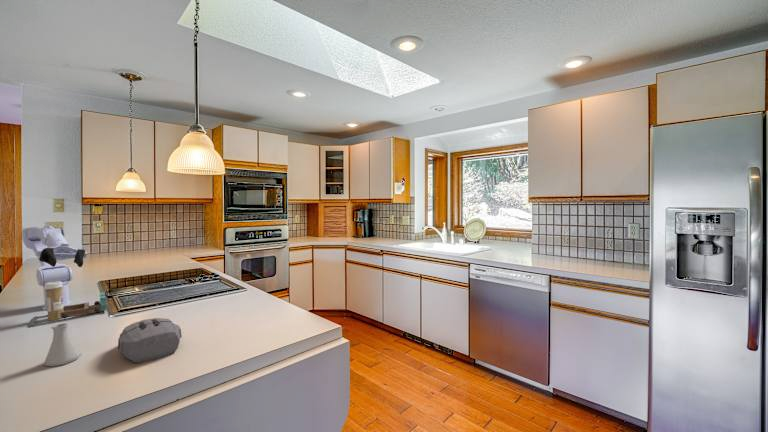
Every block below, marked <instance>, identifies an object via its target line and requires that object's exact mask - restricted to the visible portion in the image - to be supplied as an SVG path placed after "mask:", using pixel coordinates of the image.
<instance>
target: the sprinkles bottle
mask: <svg viewBox="0 0 768 432" xmlns="http://www.w3.org/2000/svg"><path fill="white" fill-rule="evenodd" d="M45 289H46V302H47V310H46V311H47V315H48V317H47V320H49V321H55V320H61V319H62V318H61V317H60V312H64V310H63V308H64V306H63V297H62V282H61V281H56V282H49V283H46V284H45Z"/></svg>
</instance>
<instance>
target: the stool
mask: <svg viewBox="0 0 768 432" xmlns="http://www.w3.org/2000/svg"><path fill="white" fill-rule="evenodd" d="M63 310H64V312H60V317H61V318H60V319H66V318H72V317H77V316H83V315H88V314H93V313H99V312H101V311H104V312H105V311H107V301H106V292H100V293H99V301H98V300H97V301H95V302H94V303H93V304H92V305H90V302H82V303H76V304H70V306H64V308H63Z"/></svg>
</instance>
